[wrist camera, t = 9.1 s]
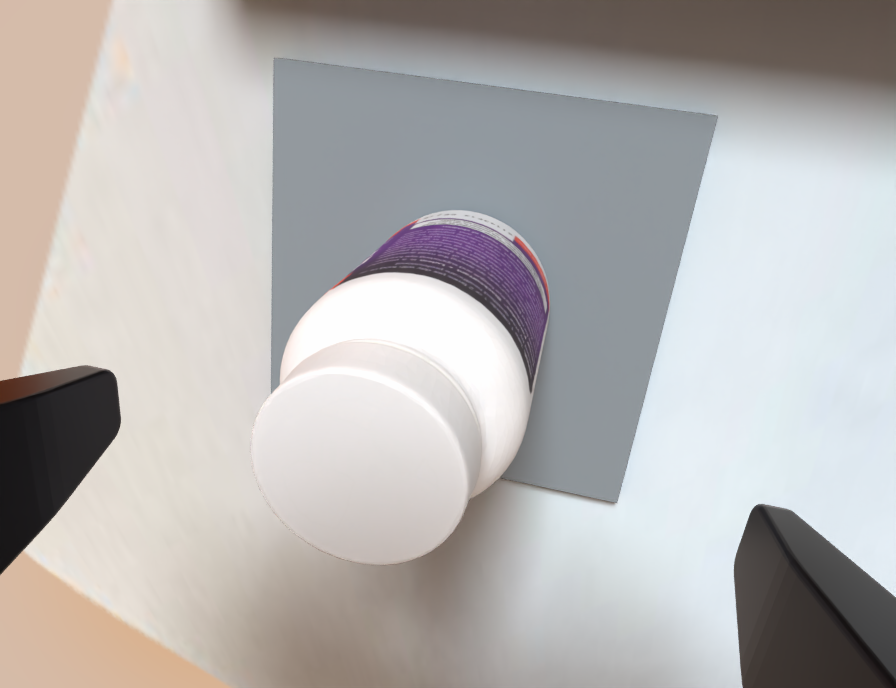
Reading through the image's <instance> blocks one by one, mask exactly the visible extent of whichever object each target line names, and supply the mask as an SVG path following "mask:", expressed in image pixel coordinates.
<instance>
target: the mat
mask: <svg viewBox="0 0 896 688" xmlns="http://www.w3.org/2000/svg"><path fill="white" fill-rule="evenodd" d="M717 118H718V116H716V115H709V114H701V113H694V112H686V111H678V110H671V109H663V108H656V107H648V106H640V105H633V104H625V103H618V102H610V101H602V100H595V99H587V98H580V97H572V96H564V95H557V94H549V93H542V92H534V91H526V90H519V89H511V88H504V87H496V86H488V85H481V84H473V83H466V82H458V81H450V80H443V79H435V78H428V77H420V76H413V75H405V74H397V73H390V72H382V71H375V70H367V69H359V68H352V67H344V66H337V65H329V64H321V63H314V62H306V61H299V60H291V59H283V58H274V83H273V205H272V327H271V394H272V392H273V391H274V390H275V389H276V388H277V387H278V386H279V385H280V369H281V363H282V358H283V354H284V351H285V347H286V345H287V342H288V340H289V338H290V335H291V334H292V332H293V330H294V328H295V327H296V325H297V324H298V322H299V321H300V319H301V318H302V317H303V316H304V314H305V313H306V312H307V311H308V310H309V309H310V308H311V307H312V306H313V305H314V304H315V303H316V302H317V301H318V300H319V299H320V298H321V297H322V296H323V295H324V294H325V293H327V292H328V291H329V290H330V289H332V288H333V287H334V286H335V285H337V284H338V283H339V282H340V281H341V280H343V279H344V278H345V277H346V276H347V275H348V274H349V273H351V272H352V271H353V270H354V269H355V268H356V267H357V266H359V265H360V264H361V263H362V262H363V261H364V260H365V259H367V258H368V257H369V256H370V255H371V254H373V253H374V252H375V251H376V250H377V249H378V248H379V247H380V246H382V245H383V244H384V243H385V242H386V241H387V240H388V239H389V238H390V237H392V236H393V235H394V234H395V233H396V232H398V231H399V230H400V229H402V228H403V227H405V226H407V225H408V224H410V223H411V222H413V221H415V220H417V219H419V218H421V217H423V216H426V215H429V214H432V213H436V212H441V211H448V210H464V211H471V212H477V213H481V214H485V215H487V216H490V217H492V218H495V219H497V220H499V221H501V222H503V223H505V224H506V225H508V226H510V227H511V228H512V229H514V230H515V231H516V232H517V233H518V234H520V235H521V236H522V237H523V238H524V239H525V240H526V242H527V243H528V244H529V245H530V246H531V248H532V249H533V250H534V252H535V253H536V255H537V257H538V258H539V260H540V262H541V264H542V266H543V269H544V271H545V274H546V277H547V281H548V285H549V294H550V314H549V321H548V326H547V332H546V336H545V340H544V345H543V350H542V354H541V359H540V364H539V369H538V374H537V378H536V383H535V388H534V393H533V398H532V403H531V408H530V413H529V418H528V423H527V427H526V431H525V434H524V437H523V440H522V443H521V445H520V447H519V450H518V452H517V454H516V456H515V458H514V459H513V461H512V462H511V464H510V465H509V467H508V468H507V469H506V471H505V472H504V473H503V474H502V475H501V476H500V477H499V478H504V479H508V480H513V481H518V482H522V483H527V484H531V485H536V486H541V487H545V488H550V489H555V490H559V491H564V492H569V493H573V494H578V495H582V496H587V497H592V498H596V499H601V500H606V501H610V502H615V503H617V501H618V498H619V494H620V490H621V486H622V482H623V478H624V475H625V471H626V467H627V463H628V459H629V455H630V452H631V448H632V444H633V440H634V436H635V432H636V429H637V425H638V421H639V417H640V413H641V409H642V405H643V402H644V398H645V394H646V390H647V386H648V382H649V379H650V375H651V371H652V367H653V363H654V359H655V356H656V352H657V348H658V344H659V340H660V336H661V333H662V329H663V325H664V321H665V317H666V313H667V310H668V306H669V302H670V298H671V294H672V290H673V287H674V283H675V279H676V275H677V271H678V267H679V264H680V260H681V256H682V252H683V248H684V244H685V241H686V237H687V233H688V229H689V225H690V221H691V218H692V214H693V210H694V206H695V202H696V198H697V195H698V191H699V187H700V183H701V179H702V175H703V172H704V168H705V164H706V160H707V156H708V152H709V149H710V145H711V141H712V137H713V133H714V129H715V125H716V122H717Z"/></svg>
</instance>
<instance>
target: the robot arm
mask: <svg viewBox="0 0 896 688" xmlns="http://www.w3.org/2000/svg"><path fill="white" fill-rule="evenodd" d="M120 424H121V415H120V406H119V396H118V387H117V380H116V377H115V375H114V374H113V373H112V372H111V371H110V370H107V369H102V368H98V367H93V366H86V365H84V366H77V367H72V368H67V369H61V370H56V371H51V372H45V373H40V374H35V375H29V376H24V377H19V378H13V379H8V380H3V381H0V575H1V574H2V573H3V571H4V570H5V569H6V568H7V567H8V566H9V565H10V564H11V563H12V562H13V561H14V560H15V559H16V557H17V556H18V555H19V554H20V553H21V552H22V551H23V550H24V549H25V548H26V547H27V546H28V545H29V544H30V542H31V541H32V540H33V539H34V538H35V537H36V536H37V535H38V534H39V533H40V532H41V531H42V530H43V528H44V527H45V526H46V525H47V524H48V523H49V522H50V521H51V519H52V518H53V517H54V516H55V515H56V514H57V512H58V511H59V510H60V509H61V507H62V506H63V505H64V504H65V502H66V501H67V500H68V499H69V497H70V496H71V495H72V493H73V492H74V491H75V489H76V488H77V487H78V485H79V484H80V483H81V482H82V480H83V479H84V478H85V476H86V475H87V474H88V472H89V471H90V470H91V468H92V467H93V466H94V465H95V463H96V462H97V461H98V459H99V458H100V457H101V455H102V454H103V453H104V452H105V450H106V449H107V448H108V446H109V445H110V444H111V442H112V441H113V440H114V438H115V437H116V435H117V433H118V431H119V428H120ZM734 583H735V597H736V611H737V625H738V639H739V653H740V666H741V676H742V686H743V688H896V597H895V596H893V595H892V594H891V593H890V592H889V591H887V590H886V589H885V588H884V587H883V586H881V585H880V584H879V583H878V582H877V581H875V580H874V579H873V578H872V577H871V576H869V575H868V574H867V573H866V572H865V571H863V570H862V569H861V568H860V567H859V566H857V565H856V564H855V563H854V562H853V561H851V560H850V559H849V558H848V557H847V556H845V555H844V554H843V553H842V552H841V551H839V550H838V549H837V548H836V547H835V546H833V545H832V544H831V543H830V542H829V541H827V540H826V539H825V538H824V537H823V536H822V535H820V534H819V533H818V532H817V531H816V530H814V529H813V528H812V527H811V526H810V525H808V524H807V523H806V522H805V521H804V520H802V519H801V518H800V517H799V516H798V515H796V514H795V513H794V512H793V511H791V510H788V509H785V508H780V507H775V506H770V505H765V504H758V505H756V506H755V507H754V508H753V509H752V511H751V513H750V516H749V519H748V521H747V524H746V527H745V530H744V533H743V536H742V539H741V542H740V544H739V547H738V550H737V553H736V557H735V562H734Z"/></svg>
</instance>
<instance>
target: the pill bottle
mask: <svg viewBox="0 0 896 688" xmlns="http://www.w3.org/2000/svg"><path fill="white" fill-rule="evenodd" d="M549 314H550V294H549V285H548V281H547V277H546V274H545V271H544V269H543V266H542V264H541V262H540V260H539V258H538V257H537V255H536V253H535V252H534V250H533V249H532V248H531V246H530V245H529V244H528V243H527V242H526V240H525V239H524V238H523V237H522V236H521V235H520V234H518V233H517V232H516V231H515V230H514V229H512V228H511V227H510V226H508V225H506V224H505V223H503V222H501V221H499V220H497V219H495V218H492V217H490V216H487V215H485V214H481V213H477V212H471V211H464V210H448V211H441V212H436V213H432V214H429V215H426V216H423V217H421V218H419V219H417V220H415V221H413V222H411V223H410V224H408V225H407V226H405V227H403V228H402V229H400V230H399V231H398V232H396V233H395V234H394V235H393V236H392V237H390V238H389V239H388V240H387V241H386V242H385V243H384V244H383V245H382V246H380V247H379V248H378V249H377V250H376V251H375V252H374V253H373V254H371V255H370V256H369V257H368V258H367V259H365V260H364V261H363V262H362V263H361V264H360V265H359V266H357V267H356V268H355V269H354V270H353V271H352V272H351V273H349V274H348V275H347V276H346V277H345V278H344V279H343V280H341V281H340V282H339V283H338V284H337V285H335V286H334V287H333V288H332V289H330V290H329V291H328V292H327V293H325V294H324V295H323V296H322V297H321V298H320V299H319V300H318V301H317V302H316V303H315V304H314V305H313V306H312V307H311V308H310V309H309V310H308V311H307V312H306V313H305V314H304V316H303V317H302V318H301V319H300V321H299V322H298V324H297V325H296V327H295V328H294V330H293V332H292V334H291V335H290V338H289V340H288V342H287V345H286V347H285V351H284V354H283V358H282V363H281V369H280V385H279V386H278V387H277V388H276V389H275V390H274V391H273V392H272V394H271V395H270V396H269V397H268V398H267V399H266V401H265V402H264V404H263V405H262V407H261V409H260V411H259V413H258V415H257V417H256V419H255V422H254V425H253V430H252V436H251V441H250V450H251V463H252V469H253V473H254V476H255V479H256V481H257V484H258V487H259V489H260V491H261V493H262V495H263V497H264V499H265V500H266V502H267V503H268V505H269V506H270V508H271V509H272V511H273V512H274V513H275V514H276V516H277V517H278V518H279V519H280V520H281V521H282V523H283V524H285V525H286V526H287V527H288V528H289V529H290V530H291V531H292V532H293V533H294V534H295V535H297V536H298V537H299V538H301V539H302V540H304V541H305V542H307V543H308V544H310V545H312V546H313V547H315V548H317V549H318V550H320V551H322V552H325V553H327V554H329V555H332V556H335V557H337V558H340V559H344V560H347V561H351V562H356V563H362V564H369V565H391V564H399V563H403V562H408V561H411V560H414V559H416V558H419V557H421V556H424V555H426V554H427V553H429V552H431V551H432V550H434V549H436V548H437V547H438V546H439V545H441V544H442V543H443V542H444V541H445V540H446V539H447V538H448V537H449V536H450V535H451V534H452V533H453V532H454V530H455V529H456V527H457V526H458V524H459V523H460V521H461V519H462V517H463V514H464V512H465V509H466V507H467V504H468V502H469V499H471V498H473V497H475V496H477V495H478V494H480V493H481V492H483V491H484V490H486V489H487V488H488V487H489V486H491V485H492V484H493V483H494V482H495V481H496V480H497V479H498V478H499V477H500V476H501V475H502V474H503V473H504V472H505V471H506V469H507V468H508V467H509V465H510V464H511V462H512V461H513V459H514V458H515V456H516V454H517V452H518V450H519V447H520V445H521V443H522V440H523V437H524V434H525V431H526V427H527V423H528V418H529V413H530V408H531V403H532V398H533V393H534V388H535V383H536V378H537V374H538V369H539V364H540V359H541V354H542V350H543V345H544V340H545V336H546V332H547V326H548V321H549Z"/></svg>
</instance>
